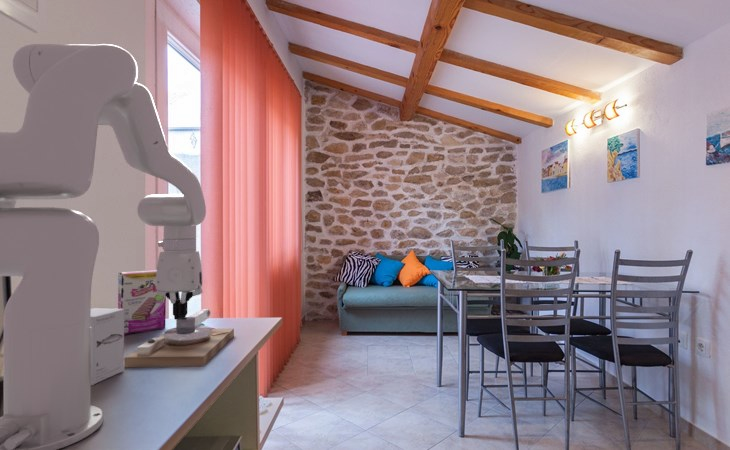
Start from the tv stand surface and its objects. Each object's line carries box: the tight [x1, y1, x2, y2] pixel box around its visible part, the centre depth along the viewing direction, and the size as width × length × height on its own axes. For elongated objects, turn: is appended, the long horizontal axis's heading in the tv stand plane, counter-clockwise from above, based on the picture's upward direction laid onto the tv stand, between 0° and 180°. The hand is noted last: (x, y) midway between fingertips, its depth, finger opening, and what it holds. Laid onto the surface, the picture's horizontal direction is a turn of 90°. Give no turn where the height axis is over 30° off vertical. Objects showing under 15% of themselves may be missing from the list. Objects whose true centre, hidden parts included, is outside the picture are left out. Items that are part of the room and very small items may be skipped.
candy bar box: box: [117, 269, 167, 336], centre depth 110 cm, size 11×5×16 cm, turn 133°
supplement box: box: [90, 307, 125, 386], centre depth 76 cm, size 7×7×13 cm
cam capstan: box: [163, 308, 211, 345], centre depth 98 cm, size 18×10×5 cm, turn 3°
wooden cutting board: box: [124, 328, 235, 368], centre depth 93 cm, size 22×16×4 cm
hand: (180, 318), depth 100 cm, fingers closed
